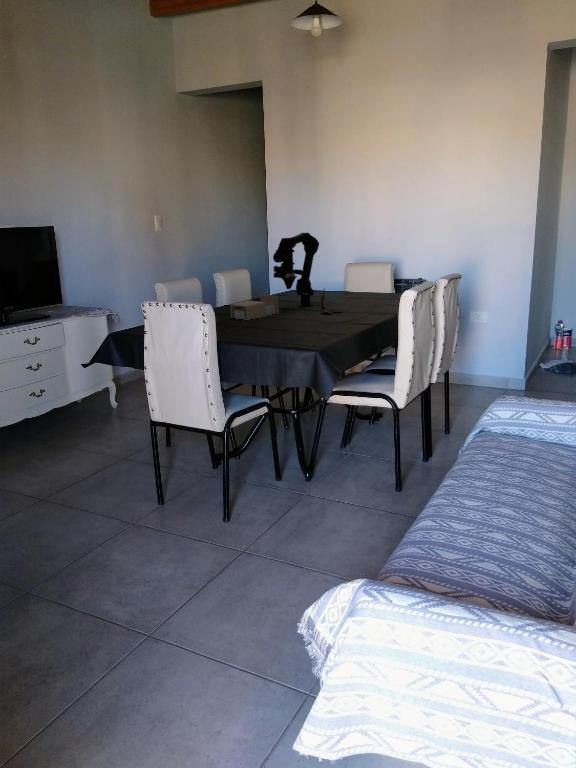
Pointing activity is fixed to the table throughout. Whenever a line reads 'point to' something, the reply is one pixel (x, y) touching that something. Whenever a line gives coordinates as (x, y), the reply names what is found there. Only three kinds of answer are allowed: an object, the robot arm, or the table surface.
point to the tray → (270, 305)
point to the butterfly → (323, 303)
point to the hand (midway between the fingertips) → (288, 289)
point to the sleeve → (250, 309)
